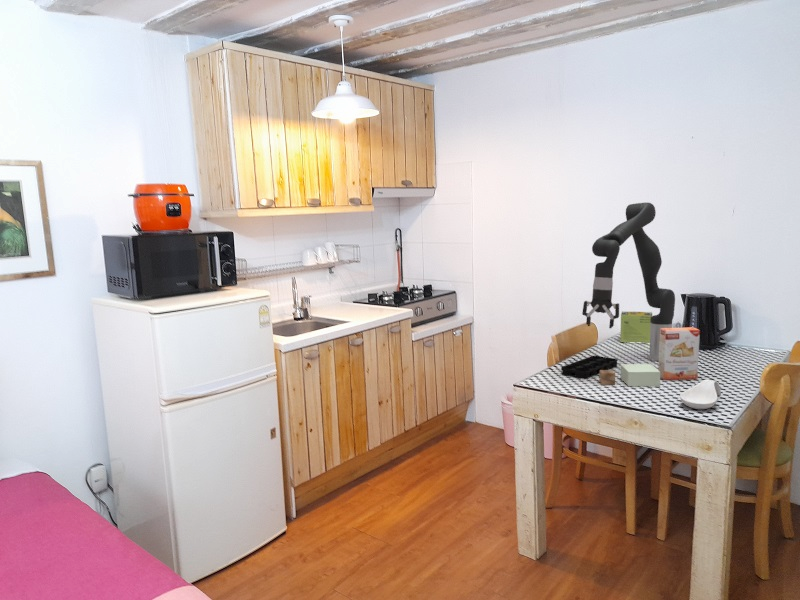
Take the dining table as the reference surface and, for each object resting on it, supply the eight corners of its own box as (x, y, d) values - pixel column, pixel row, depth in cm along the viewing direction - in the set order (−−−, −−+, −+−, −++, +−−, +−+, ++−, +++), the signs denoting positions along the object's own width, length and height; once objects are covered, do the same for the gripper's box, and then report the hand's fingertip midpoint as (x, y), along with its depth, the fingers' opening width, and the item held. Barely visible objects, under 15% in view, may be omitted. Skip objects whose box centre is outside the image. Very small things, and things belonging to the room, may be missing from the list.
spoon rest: (710, 415, 193) (711, 395, 192) (674, 408, 202) (675, 388, 201) (730, 397, 210) (731, 379, 209) (696, 391, 218) (697, 373, 217)
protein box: (651, 344, 296) (652, 315, 294) (620, 343, 302) (620, 314, 300) (651, 340, 306) (652, 311, 303) (620, 338, 312) (621, 311, 309)
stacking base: (650, 378, 238) (650, 364, 237) (659, 386, 226) (660, 371, 225) (620, 378, 239) (620, 364, 238) (628, 386, 227) (628, 372, 226)
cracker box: (664, 380, 233) (665, 330, 230) (657, 376, 239) (658, 327, 236) (698, 379, 233) (700, 329, 230) (691, 375, 239) (692, 326, 236)
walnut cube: (611, 381, 235) (612, 369, 234) (615, 385, 230) (615, 373, 229) (599, 381, 236) (599, 370, 235) (602, 385, 231) (602, 373, 230)
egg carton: (558, 376, 246) (558, 368, 246) (581, 361, 270) (581, 353, 270) (599, 382, 236) (599, 373, 236) (619, 365, 260) (620, 357, 259)
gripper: (621, 289, 236) (618, 327, 237) (586, 286, 242) (583, 324, 244) (620, 290, 229) (616, 330, 231) (583, 287, 235) (580, 326, 237)
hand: (599, 327), depth 237 cm, fingers open, 8 cm apart
